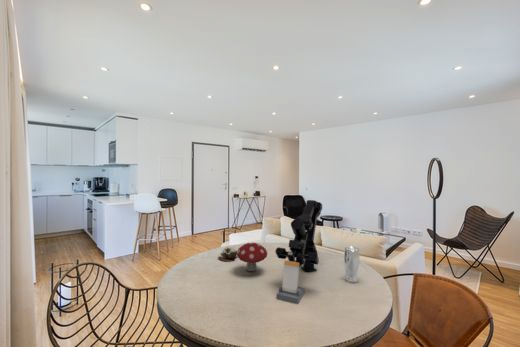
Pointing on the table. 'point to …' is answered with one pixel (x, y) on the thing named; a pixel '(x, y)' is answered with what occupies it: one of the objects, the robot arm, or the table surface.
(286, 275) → the lever
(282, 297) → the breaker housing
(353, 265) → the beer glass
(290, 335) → the table surface
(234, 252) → the skull
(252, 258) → the decorative mushroom
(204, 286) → the table surface
